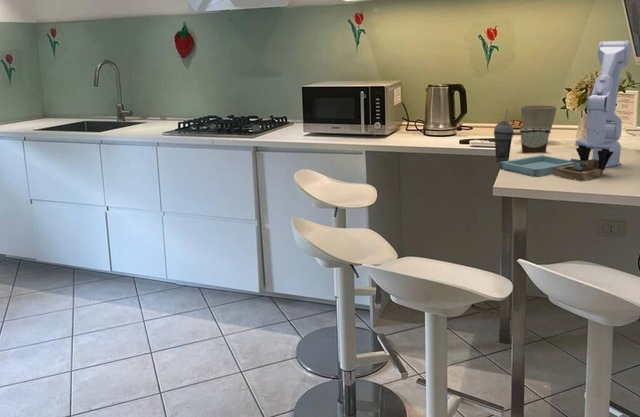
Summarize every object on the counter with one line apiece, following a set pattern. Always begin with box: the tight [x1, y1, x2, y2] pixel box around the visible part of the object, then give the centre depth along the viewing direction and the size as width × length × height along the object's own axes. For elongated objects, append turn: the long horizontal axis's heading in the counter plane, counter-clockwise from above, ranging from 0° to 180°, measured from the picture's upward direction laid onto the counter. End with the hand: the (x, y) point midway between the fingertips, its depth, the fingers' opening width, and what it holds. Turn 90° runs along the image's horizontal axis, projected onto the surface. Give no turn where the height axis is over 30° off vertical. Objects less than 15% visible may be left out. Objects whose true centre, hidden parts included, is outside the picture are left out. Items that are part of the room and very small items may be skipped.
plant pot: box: [520, 104, 558, 132], centre depth 279 cm, size 15×15×16 cm
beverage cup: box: [493, 109, 514, 164], centre depth 240 cm, size 7×7×20 cm
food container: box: [519, 126, 552, 154], centre depth 260 cm, size 12×6×10 cm, turn 85°
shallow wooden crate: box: [553, 158, 604, 181], centre depth 216 cm, size 15×11×4 cm
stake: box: [570, 158, 588, 172], centre depth 215 cm, size 3×6×6 cm, turn 30°
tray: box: [499, 154, 574, 178], centre depth 228 cm, size 22×17×2 cm
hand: (592, 169), depth 219 cm, fingers open, 6 cm apart
